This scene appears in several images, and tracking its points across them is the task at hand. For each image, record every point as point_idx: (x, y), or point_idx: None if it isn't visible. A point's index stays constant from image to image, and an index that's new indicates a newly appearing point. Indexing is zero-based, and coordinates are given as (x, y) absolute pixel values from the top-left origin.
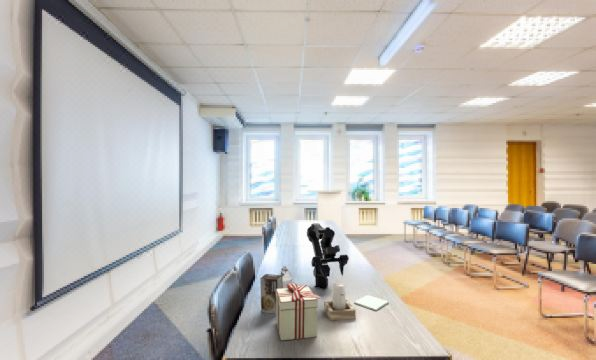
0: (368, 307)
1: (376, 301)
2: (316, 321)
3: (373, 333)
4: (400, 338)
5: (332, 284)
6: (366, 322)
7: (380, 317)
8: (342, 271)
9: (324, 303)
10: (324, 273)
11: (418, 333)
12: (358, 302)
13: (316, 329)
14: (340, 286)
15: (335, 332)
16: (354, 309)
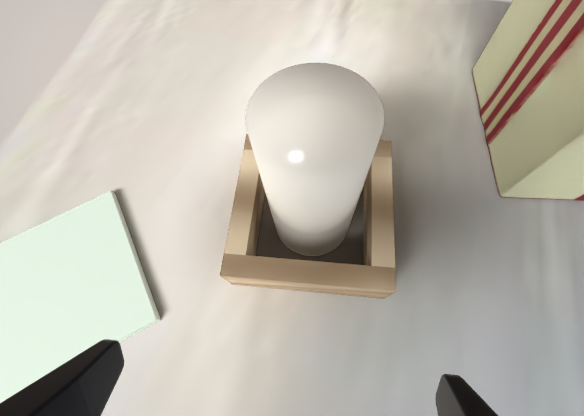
0: (126, 228)
1: (26, 280)
2: (506, 12)
3: (251, 50)
4: (186, 15)
5: (374, 146)
6: (229, 115)
7: (143, 137)
8: (62, 374)
9: (393, 278)
10: (470, 409)
11: (110, 25)
12: (136, 301)
13: (487, 45)
14: (311, 83)
15: (388, 80)
16: (247, 141)
